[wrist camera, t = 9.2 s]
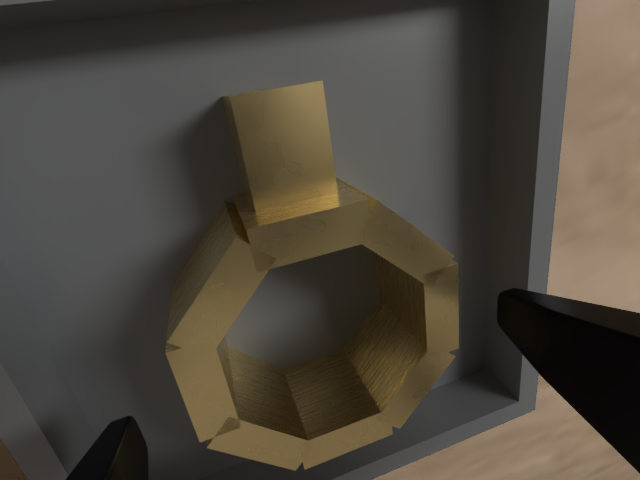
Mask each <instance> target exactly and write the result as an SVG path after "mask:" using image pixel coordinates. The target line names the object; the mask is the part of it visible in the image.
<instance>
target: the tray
mask: <svg viewBox="0 0 640 480" xmlns="http://www.w3.org/2000/svg"><path fill="white" fill-rule="evenodd" d="M574 9H575V0H0V439H1V441H2V442H3V444H4V445H5V447H6V448H7V450H8V451H9V453H10V454H11V456H12V457H13V459H14V460H15V462H16V463H17V465H18V466H19V468H20V469H21V471H22V472H23V474H24V475H25V477H26V478H27V480H65V479H66V478H67V477H68V475H69V474H70V473H71V471H72V470H73V469H74V468H75V466H76V465H77V464H78V462H79V461H80V460H81V459H82V457H83V456H84V455H85V453H86V452H87V451H88V450H89V448H90V447H91V446H92V445H93V443H94V442H95V441H96V439H97V438H98V437H99V436H100V434H101V433H102V432H103V430H104V429H105V428H106V427H107V425H108V424H109V423H110V422H112V421H114V420H117V419H120V418H123V417H126V416H129V415H130V416H133V417H134V418H135V420H136V422H137V424H138V426H139V428H140V430H141V433H142V435H143V437H144V439H145V441H146V444H147V448H148V479H149V480H372V479H374V478H376V477H379V476H381V475H383V474H386V473H388V472H390V471H393V470H395V469H397V468H400V467H402V466H404V465H407V464H409V463H411V462H414V461H416V460H418V459H421V458H423V457H426V456H428V455H430V454H433V453H435V452H437V451H440V450H442V449H444V448H447V447H449V446H451V445H454V444H456V443H458V442H461V441H463V440H465V439H468V438H470V437H472V436H475V435H477V434H479V433H482V432H484V431H486V430H489V429H491V428H493V427H496V426H498V425H500V424H503V423H505V422H508V421H510V420H512V419H515V418H517V417H519V416H522V415H524V414H526V413H529V412H531V411H533V410H535V404H536V394H537V384H538V372H537V371H536V370H535V369H534V367H533V366H532V365H531V364H530V363H529V362H528V360H527V359H526V358H525V357H524V356H523V354H522V353H521V352H520V351H519V350H518V349H517V347H516V346H515V345H514V344H513V343H512V341H511V340H510V339H509V338H508V337H507V335H506V334H505V333H504V332H503V331H502V330H501V328H500V327H499V325H498V323H497V318H496V317H497V297H498V294H499V293H500V292H501V291H504V290H507V289H510V288H518V289H523V290H528V291H533V292H538V293H543V294H546V292H547V282H548V272H549V262H550V252H551V242H552V232H553V222H554V211H555V201H556V191H557V181H558V171H559V161H560V151H561V140H562V130H563V120H564V110H565V100H566V90H567V80H568V70H569V59H570V49H571V39H572V29H573V19H574ZM315 81H323V86H324V94H325V101H326V109H327V116H328V123H329V131H330V138H331V146H332V153H333V160H334V168H335V175H336V178H338V179H340V180H342V181H344V182H345V183H347V184H349V185H351V186H353V187H354V188H356V189H358V190H360V191H362V192H363V193H365V194H367V195H369V196H371V197H372V198H374V199H376V200H378V201H379V202H381V203H382V204H384V205H385V206H386V207H388V208H389V209H390V210H392V211H393V212H395V213H396V214H397V215H399V216H400V217H401V218H403V219H404V220H406V221H407V222H408V223H410V224H411V225H413V226H414V227H415V228H417V229H418V230H419V231H421V232H422V233H424V234H425V235H426V236H428V237H429V238H430V239H432V240H433V241H435V242H436V243H437V244H439V245H440V246H441V247H443V248H444V249H446V250H447V251H448V252H450V253H451V254H453V255H454V258H453V259H452V260H453V261H455V262H457V263H458V300H459V349H456V350H453V351H451V352H452V353H453V354H454V355H455V356H456V357H455V358H454V359H453V361H452V362H451V363H450V365H449V366H448V367H447V368H446V370H445V371H444V372H443V374H442V375H441V376H440V378H439V379H438V380H437V381H436V383H435V384H434V385H433V387H432V388H431V389H430V391H429V392H428V393H427V394H426V396H425V397H424V398H423V400H422V401H421V402H420V404H419V405H418V406H417V407H416V409H415V410H414V411H413V413H412V414H411V415H410V416H409V418H408V419H407V420H406V422H405V423H404V424H403V426H402V427H401V428H400V429H399V428H396V427H394V426H392V431H393V434H392V435H390V436H387V437H385V438H382V439H380V440H377V441H375V442H372V443H370V444H367V445H365V446H362V447H360V448H358V449H355V450H353V451H350V452H348V453H345V454H343V455H340V456H338V457H335V458H333V459H330V460H328V461H325V462H323V463H320V464H318V465H315V466H313V467H311V468H308V469H306V470H305V469H304V466H303V463H301V464H300V466H299V467H298V468H297V470H296V471H294V470H291V469H287V468H283V467H279V466H275V465H271V464H267V463H263V462H259V461H255V460H251V459H247V458H244V457H240V456H236V455H232V454H228V453H224V452H220V451H216V450H212V449H208V448H207V444H206V441H203V442H199V439H198V437H197V434H196V431H195V429H194V426H193V424H192V421H191V418H190V416H189V413H188V411H187V408H186V405H185V403H184V400H183V398H182V395H181V392H180V390H179V387H178V385H177V382H176V379H175V377H174V374H173V372H172V369H171V366H170V364H169V361H168V359H167V356H166V353H165V352H166V342H167V332H168V321H169V311H170V301H171V291H172V284H173V280H174V278H175V277H176V275H177V274H178V272H179V270H180V269H181V267H182V266H183V264H184V263H185V261H186V260H187V258H188V256H189V255H190V253H191V252H192V250H193V249H194V247H195V245H196V244H197V242H198V241H199V239H200V238H201V236H202V235H203V233H204V231H205V230H206V228H207V227H208V225H209V224H210V222H211V220H212V219H213V217H214V216H215V214H216V213H217V211H218V210H219V208H220V206H221V205H222V203H223V202H224V201H225V202H227V203H229V204H231V205H232V206H234V207H235V205H234V201H233V197H232V195H235V194H240V193H244V192H245V191H244V187H243V183H242V178H241V174H240V170H239V166H238V161H237V157H236V153H235V149H234V144H233V140H232V136H231V131H230V127H229V123H228V119H227V114H226V110H225V106H224V102H223V97H222V96H226V95H232V94H238V93H244V92H250V91H256V90H262V89H268V88H274V87H280V86H286V85H292V84H298V83H306V82H315ZM378 300H379V295H378V285H377V276H376V266H375V256H374V251H372V250H370V249H369V248H367V247H366V246H364V245H363V244H360V245H357V246H353V247H349V248H346V249H342V250H338V251H335V252H331V253H328V254H324V255H320V256H317V257H313V258H309V259H306V260H302V261H298V262H295V263H291V264H287V265H284V266H280V267H277V268H273V269H269V271H268V272H267V274H266V275H265V277H264V278H263V280H262V281H261V283H260V284H259V286H258V287H257V289H256V290H255V292H254V293H253V295H252V296H251V298H250V299H249V300H248V302H247V303H246V305H245V306H244V308H243V309H242V311H241V312H240V314H239V315H238V317H237V318H236V320H235V321H234V323H233V324H232V326H231V327H230V329H229V330H228V332H227V333H226V335H225V339H226V343H227V346H228V347H229V348H231V349H234V350H236V351H239V352H242V353H244V354H247V355H249V356H252V357H254V358H257V359H259V360H262V361H264V362H267V363H269V364H272V365H275V366H277V367H280V368H282V369H286V368H289V367H292V366H295V365H298V364H301V363H304V362H307V361H309V360H312V359H315V358H318V357H321V356H324V355H327V354H330V353H333V352H336V351H339V350H342V349H344V347H345V346H346V345H347V343H348V342H349V340H350V339H351V338H352V336H353V335H354V334H355V332H356V331H357V329H358V328H359V327H360V325H361V324H362V322H363V321H364V320H365V318H366V317H367V316H368V314H369V313H370V311H371V310H372V309H373V307H374V306H375V305H376V303H377V302H378Z"/></svg>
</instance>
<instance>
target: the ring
mask: <svg viewBox="0 0 640 480" xmlns="http://www.w3.org/2000/svg"><path fill="white" fill-rule="evenodd" d="M222 97H223V102H224V106H225V110H226V114H227V119H228V123H229V127H230V131H231V136H232V140H233V144H234V149H235V153H236V157H237V161H238V166H239V170H240V174H241V178H242V183H243V187H244V191H245V192H244V193H240V194H235V195H232V197H233V201H234V205H235V207H234V206H232V205H231V204H229V203H227V202H225V201H224V202H223V203H222V205H221V206H220V208H219V210H218V211H217V213H216V214H215V216H214V217H213V219H212V220H211V222H210V224H209V225H208V227H207V228H206V230H205V231H204V233H203V235H202V236H201V238H200V239H199V241H198V242H197V244H196V245H195V247H194V249H193V250H192V252H191V253H190V255H189V256H188V258H187V260H186V261H185V263H184V264H183V266H182V267H181V269H180V270H179V272H178V274H177V275H176V277H175V278H174V280H173V284H172V291H171V301H170V311H169V321H168V332H167V342H166V352H165V353H166V356H167V359H168V361H169V364H170V366H171V369H172V372H173V374H174V377H175V379H176V382H177V385H178V387H179V390H180V392H181V395H182V398H183V400H184V403H185V405H186V408H187V411H188V413H189V416H190V418H191V421H192V424H193V426H194V429H195V431H196V434H197V437H198V439H199V442H203V441H206V444H207V448H208V449H212V450H216V451H220V452H224V453H228V454H232V455H236V456H240V457H244V458H247V459H251V460H255V461H259V462H263V463H267V464H271V465H275V466H279V467H283V468H287V469H291V470H294V471H296V470H297V468H298V467H299V466H300V464H301V463H303V466H304V469H305V470H306V469H308V468H311V467H313V466H315V465H318V464H320V463H323V462H325V461H328V460H330V459H333V458H335V457H338V456H340V455H343V454H345V453H348V452H350V451H353V450H355V449H358V448H360V447H362V446H365V445H367V444H370V443H372V442H375V441H377V440H380V439H382V438H385V437H387V436H390V435H392V434H393V431H392V426H394V427H396V428H399V429H400V428H401V427H402V426H403V424H404V423H405V422H406V420H407V419H408V418H409V416H410V415H411V414H412V413H413V411H414V410H415V409H416V407H417V406H418V405H419V404H420V402H421V401H422V400H423V398H424V397H425V396H426V394H427V393H428V392H429V391H430V389H431V388H432V387H433V385H434V384H435V383H436V381H437V380H438V379H439V378H440V376H441V375H442V374H443V372H444V371H445V370H446V368H447V367H448V366H449V365H450V363H451V362H452V361H453V359H454V358H455V357H456V356H455V355H454V354H453V353H452V352H451V351H453V350H456V349H459V300H458V263H457V262H455V261H453V260H452V259H453V258H454V255H453V254H451V253H450V252H448V251H447V250H446V249H444V248H443V247H441V246H440V245H439V244H437V243H436V242H435V241H433V240H432V239H430V238H429V237H428V236H426V235H425V234H424V233H422V232H421V231H419V230H418V229H417V228H415V227H414V226H413V225H411V224H410V223H408V222H407V221H406V220H404V219H403V218H401V217H400V216H399V215H397V214H396V213H395V212H393V211H392V210H390V209H389V208H388V207H386V206H385V205H384V204H382V203H381V202H379V201H378V200H376V199H374V198H372V197H371V196H369V195H367V194H365V193H363V192H362V191H360V190H358V189H356V188H354V187H353V186H351V185H349V184H347V183H345V182H344V181H342V180H340V179H338V178H336V175H335V168H334V160H333V153H332V146H331V138H330V131H329V123H328V116H327V109H326V101H325V94H324V86H323V81H315V82H306V83H298V84H292V85H286V86H280V87H274V88H268V89H262V90H256V91H250V92H244V93H238V94H232V95H226V96H222ZM360 244H363V245H364V246H366V247H367V248H369V249H370V250H372V251H374V256H375V266H376V276H377V285H378V295H379V300H378V302H377V303H376V305H375V306H374V307H373V309H372V310H371V311H370V313H369V314H368V316H367V317H366V318H365V320H364V321H363V322H362V324H361V325H360V327H359V328H358V329H357V331H356V332H355V334H354V335H353V336H352V338H351V339H350V340H349V342H348V343H347V345H346V346H345V347H344V349H342V350H339V351H336V352H333V353H330V354H327V355H324V356H321V357H318V358H315V359H312V360H309V361H307V362H304V363H301V364H298V365H295V366H292V367H289V368H286V369H282V368H280V367H277V366H275V365H272V364H269V363H267V362H264V361H262V360H259V359H257V358H254V357H252V356H249V355H247V354H244V353H242V352H239V351H236V350H234V349H231V348H229V347H228V346H227V343H226V339H225V335H226V333H227V332H228V330H229V329H230V327H231V326H232V324H233V323H234V321H235V320H236V318H237V317H238V315H239V314H240V312H241V311H242V309H243V308H244V306H245V305H246V303H247V302H248V300H249V299H250V298H251V296H252V295H253V293H254V292H255V290H256V289H257V287H258V286H259V284H260V283H261V281H262V280H263V278H264V277H265V275H266V274H267V272H268V271H269V269H273V268H277V267H280V266H284V265H287V264H291V263H295V262H298V261H302V260H306V259H309V258H313V257H317V256H320V255H324V254H328V253H331V252H335V251H338V250H342V249H346V248H349V247H353V246H357V245H360Z"/></svg>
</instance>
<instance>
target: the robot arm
mask: <svg viewBox="0 0 640 480" xmlns="http://www.w3.org/2000/svg"><path fill="white" fill-rule="evenodd" d="M496 318H497V323H498V325H499V327H500V328H501V330H502V331H503V332H504V333H505V334H506V335H507V337H508V338H509V339H510V340H511V341H512V343H513V344H514V345H515V346H516V347H517V349H518V350H519V351H520V352H521V353H522V354H523V356H524V357H525V358H526V359H527V360H528V362H529V363H530V364H531V365H532V366H533V367H534V369H535V370H536V371H537V372H538V373H539V374H540V375H541V376H542V377H543V378H544V379H545V380H546V381H547V382H548V383H549V384H550V385H551V386H552V387H553V388H554V389H555V390H556V391H557V392H558V393H559V394H560V395H561V396H562V397H563V398H564V399H565V400H566V401H567V402H568V403H569V404H570V405H571V406H572V407H573V408H574V409H575V410H576V411H577V412H578V413H579V414H580V415H581V416H582V417H583V418H584V419H585V420H586V421H587V422H588V423H589V424H590V425H591V426H592V427H593V428H594V429H595V430H596V431H597V432H598V433H599V434H600V435H601V436H602V437H603V438H604V439H605V440H606V441H607V442H608V443H609V444H610V445H612V446H613V447H614V448H615V449H616V450H617V451H618V452H619V453H620V454H621V455H622V456H623V457H624V458H625V459H626V460H627V461H628V462H629V463H630V464H631V465H632V466H633V467H634V468H635V469H636V470H637V471H638V472H639V473H640V313H636V312H631V311H626V310H621V309H617V308H612V307H607V306H602V305H597V304H592V303H587V302H582V301H577V300H572V299H567V298H562V297H557V296H553V295H548V294H543V293H538V292H533V291H528V290H523V289H518V288H510V289H507V290H504V291H501V292H500V293H499V294H498V297H497V317H496ZM65 480H149V479H148V448H147V444H146V441H145V439H144V437H143V435H142V433H141V430H140V428H139V426H138V424H137V422H136V420H135V418H134V417H133V416H130V415H129V416H126V417H123V418H120V419H117V420H114V421H112V422H110V423H109V424H108V425H107V427H106V428H105V429H104V430H103V432H102V433H101V434H100V436H99V437H98V438H97V439H96V441H95V442H94V443H93V445H92V446H91V447H90V448H89V450H88V451H87V452H86V453H85V455H84V456H83V457H82V459H81V460H80V461H79V462H78V464H77V465H76V466H75V468H74V469H73V470H72V471H71V473H70V474H69V475H68V477H67V478H66V479H65Z"/></svg>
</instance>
